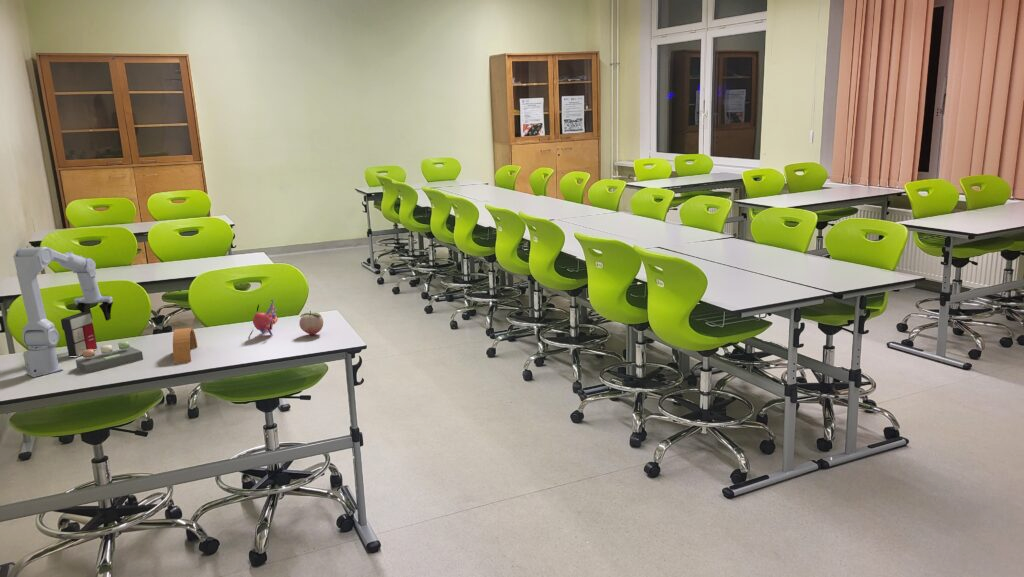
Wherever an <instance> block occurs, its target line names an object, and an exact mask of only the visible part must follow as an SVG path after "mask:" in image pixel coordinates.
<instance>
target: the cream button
mask: <svg viewBox="0 0 1024 577" xmlns="http://www.w3.org/2000/svg"><path fill="white" fill-rule="evenodd" d="M112 351H114V350H113V346H112V345H111V344H105V345H102V346H100V352H101V354H103V353H109V352H112Z"/></svg>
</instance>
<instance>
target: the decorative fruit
mask: <svg viewBox="0 0 1024 577" xmlns="http://www.w3.org/2000/svg"><path fill="white" fill-rule="evenodd" d="M299 317H300V319H299V327H300V329H301V330H302V331H303V332H305V333H306V334H308V335H311V336H315V335H316V334H317V333H320V332H321V330H322V329H323V326H324V319H323V316H322V314H320V312H319V313H318V312H312V311H311V310H309V312H304V313H302V314H301V315H300V316H299Z"/></svg>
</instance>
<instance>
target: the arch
mask: <svg viewBox="0 0 1024 577" xmlns="http://www.w3.org/2000/svg"><path fill="white" fill-rule="evenodd" d="M196 336H197V335H196V332H195V330H194V328H193V327H185V328H176V329H174V330H173V333H172V357H173V363H174V365H176V364H184V363H191V362H192V356H191V355H192V354H191V349H197V348H198V341H197V337H196ZM190 348H191V349H190Z"/></svg>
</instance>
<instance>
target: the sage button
mask: <svg viewBox="0 0 1024 577" xmlns="http://www.w3.org/2000/svg"><path fill="white" fill-rule="evenodd" d="M117 344H118V350H121V349H126V348H129V347H131V344H130V341H129V340H124V341H120V342H118V343H117Z"/></svg>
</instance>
